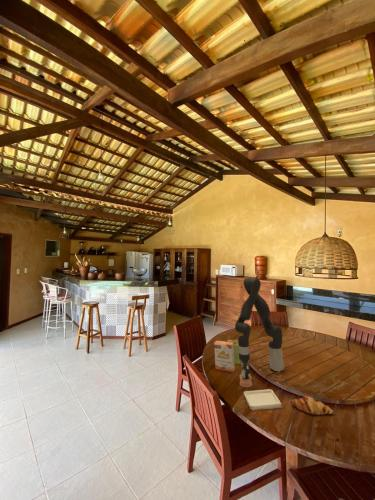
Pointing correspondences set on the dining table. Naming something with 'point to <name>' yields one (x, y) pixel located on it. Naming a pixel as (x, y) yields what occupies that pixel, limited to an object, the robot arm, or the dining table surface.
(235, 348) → the protein box
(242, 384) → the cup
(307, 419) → the dining table surface
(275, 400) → the tray
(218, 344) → the cracker box
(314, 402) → the croissant
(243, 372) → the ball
